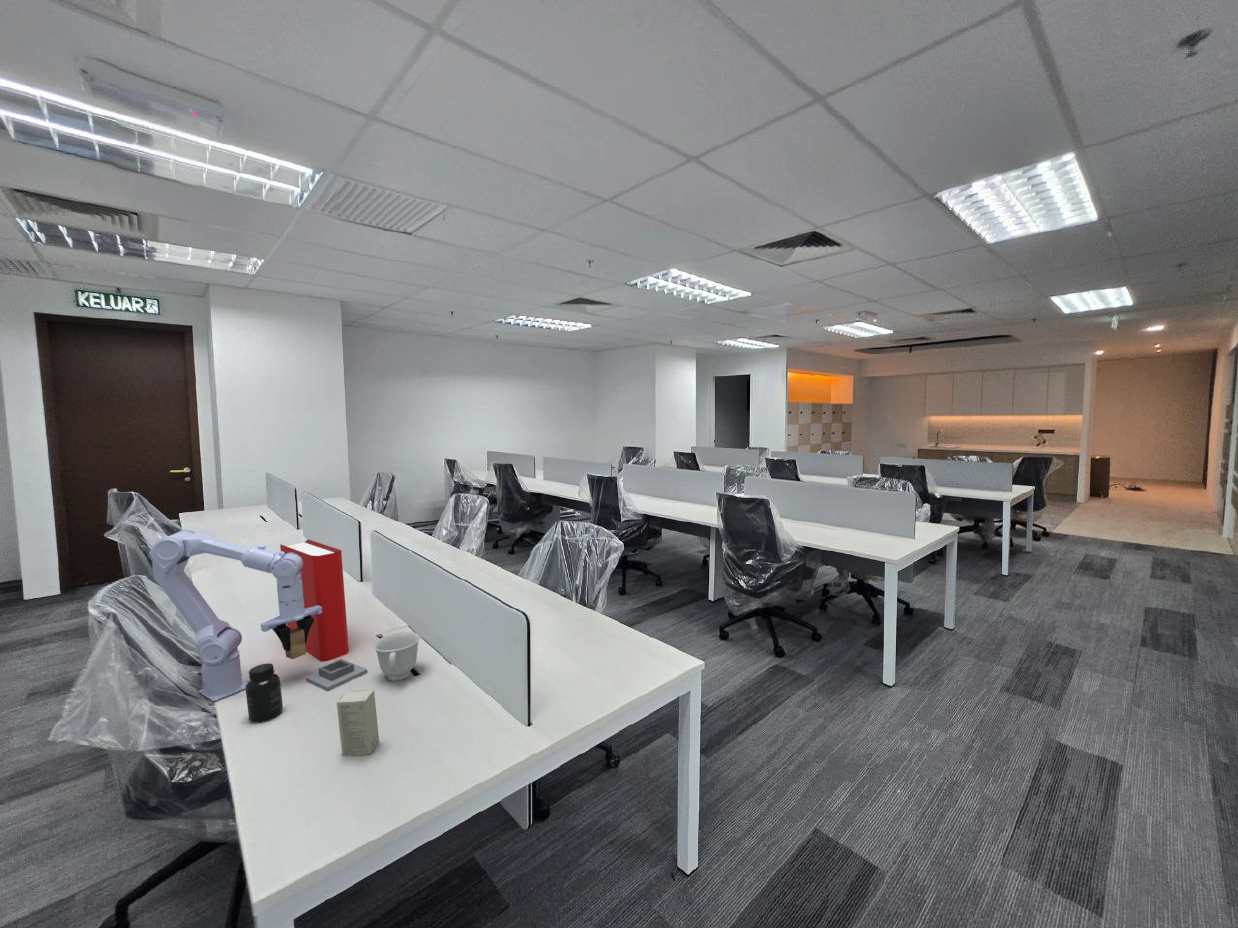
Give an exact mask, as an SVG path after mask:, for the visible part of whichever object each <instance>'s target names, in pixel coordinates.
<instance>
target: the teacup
mask: <svg viewBox="0 0 1238 928" xmlns="http://www.w3.org/2000/svg"><path fill="white" fill-rule="evenodd" d="M420 640H421V635H420V634H419V633H416V632H413V631H401V632H400V631H399V632H394V633H390V634H387V635H385V636H382V637H380V638H379V639H377V640H376V641H375V642H374V643H373V645H372V648H373V650H375V651H376V656H377V659H378V660H377V661H378V664H379V667H380V670H381V672H382V673H383V674H384V675H386V676H387V679H389V680H390V681H401V680H405V679H406V678H408V677H409V676H410V675H411V670H412V669H414V667H415V666H416V663H417V659H418V646H419V642H420ZM389 680H388V681H389Z"/></svg>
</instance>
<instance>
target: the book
mask: <svg viewBox="0 0 1238 928" xmlns="http://www.w3.org/2000/svg"><path fill="white" fill-rule="evenodd" d="M279 546H280V548H279V549H280V552H281V551H282V552H285V553H284V554H287V553H295V554H297V555H299V556H300V557H301V558H302V560H303V566H302V568H301V570H300V571H301V579H302V587H303V599H304V609H305V608H310V607H314V606H321V607H322V613H321V614H315V615H312V616H311V617H312V618H314V622H313V624H312V626H311V628H310V630H309V633H308V637H307V642H306V645H305V647H306V654H308V653H309V654H308V655H310V656H311V657H313V658H314V659H316V660H318V661H319V662H320V663H323V662H326V661H327V662H330V661H332V660H335V659H338V658H340V657H344V656H346V655H348V654H349V652H350V649H349V647H350V646H349V636H348V625H347V622H348V620H347V611H346V610H347V609H346V607H347V606H346V597H345V596H346V595H345V593H346V592H345V583H344V582H345V581H344V569H343V568H344V567H343V558H342V557H343V555H342V550H341V549H339V548H336V547H333V546H331V545H326V544H323V543H320V542H317V541H313V540H312V539H306V540H305V541H304V542H300V543H295V544H294V543H293V544H290V545H283V544H281V543H280V545H279ZM300 571H299V572H300ZM286 625H287V627H289V628H291V629H294V628H296V627H298V626H297V622H296V621H294V622H291V623H288V624H286ZM291 629H290V630H291ZM329 660H330V661H329ZM327 662H326V663H327Z"/></svg>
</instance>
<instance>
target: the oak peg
mask: <svg viewBox="0 0 1238 928" xmlns="http://www.w3.org/2000/svg"><path fill="white" fill-rule="evenodd" d="M284 651H285V650H284ZM305 655H307V652H306V647H305V636H304V629H301V628H298V627H296V628H294V629H291V630H290V651H285V657H286V658H288V659H290V660H295V659H297V658H299V657H302V656H305Z"/></svg>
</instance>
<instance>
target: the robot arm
mask: <svg viewBox="0 0 1238 928" xmlns="http://www.w3.org/2000/svg"><path fill="white" fill-rule="evenodd" d="M284 553H285V552H282V551H281V550H280V552H279V551H276V550H272V549H270V548H269V549H268V548H266V545H263V544H260V545H253V546H250V547H244V546H241V545H238V544H235V543H232V542H229V541H225V540H222V539H219V538H217V537H213V536H210V535H208V534H206V533H204V532H196V531H193V530H190V529H184V530H179V531H177V532H176V533H173V534H171V535H168V536H165V537H164V536H163V537H161V538H159V539H157V540H156V541H155V542H154V543H153V546H152V547H151V549H150V551H149V552H148V555H149V557H150V558H151V560H152V561H151V562H152V577H153V579H154V580H155V582H157V584H158V585H159V586H160V588H161V589H162V590H163V592H164V593H165V594H166V596H167V598H168V599H169V600H170V601H171V602H172V604H173V605H174V607H176V609H177V610H178V611H179V614H181V616H182V617H183V618H184V619H185V621H186V623H187V624H188V626H190V628H191V629H192V631H193V632H194V633H195V638H194V645H195V647H196V648H197V651H198V657H199V660H201V662H202V664H201V670H200V672H201V678H202V679H201V681H202V689H200V690H198V693H199V694H201V695H202V696H204V697H205V698H206V699H207V698H208V699H209V700H210V701H212V702H216V699H217V701H219V700H222V699H224V698H226V697H229V696H231V695H234V694H236V693H239V692H241V691H244V690H245V687H246V684H247V683H246V682H244V681H243V678H242V677H243V676H242V668H241V657H240V650H239V648H238V647H239V646H240V645H241V643H242V640H243V636H242V633H241V632H240V630H238V629H236V628H234V627H233V626H232V625H230V623H228V622H227V621H225V620H221V619H220V618H218V615H217V614H216V613H215V612H214V611H213V609H212V607H211V606H210V605H209V604H208V601H206V600H205V598H204V597H203V595H202V594H201V593H200V591H199V590H198V588H197V587H196V586H195V584H194V583H193V582H192V580H191V579H190V577H189V576H188V575H187V573H186V572H185V567H186V565H187V563H188V562H189V559H190V558H191V557H192V556H197V555H202V554H208V555H209V554H210V555H214V556H218V557H223V558H228V559H231V560H232V559H233V560H236V561H240V562H241V564H242V565H243V567H245V568H248V569H253V570H256V571H260V572H264V573H268V574H272V576H273V577H274V578H275V579H276V589H277V590H276V591H277V600H278V613H279V615H278V616H275V617H274V618H271V619H269V620H267V621H265V622H261V623H260V630H261V632H263V633H266V632H269V631H270V630H272V631H273V632H274V633H275V634H276V636H277V637H278V639H279V641H280V644H281V645H282V648H283V651H290V629H291V628H289V627H287V624H288V623H291V622H294V621H296V622H297V626H298V628H301V629H304V636H305V645H306V642H307V637H308V633H309V630H310V628H311V626H312V624H313V622H314V618H312V617H311V616H312V615H315V614H321V613H322V607H321V606H314V607H310V608H305V609H304V599H303V587H302V579H301V571H300V570H301V568H302V566H303V560H302V558H301V557H300V556H299V555H297V554H295V553H287V554H284ZM299 571H300V572H299Z"/></svg>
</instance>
